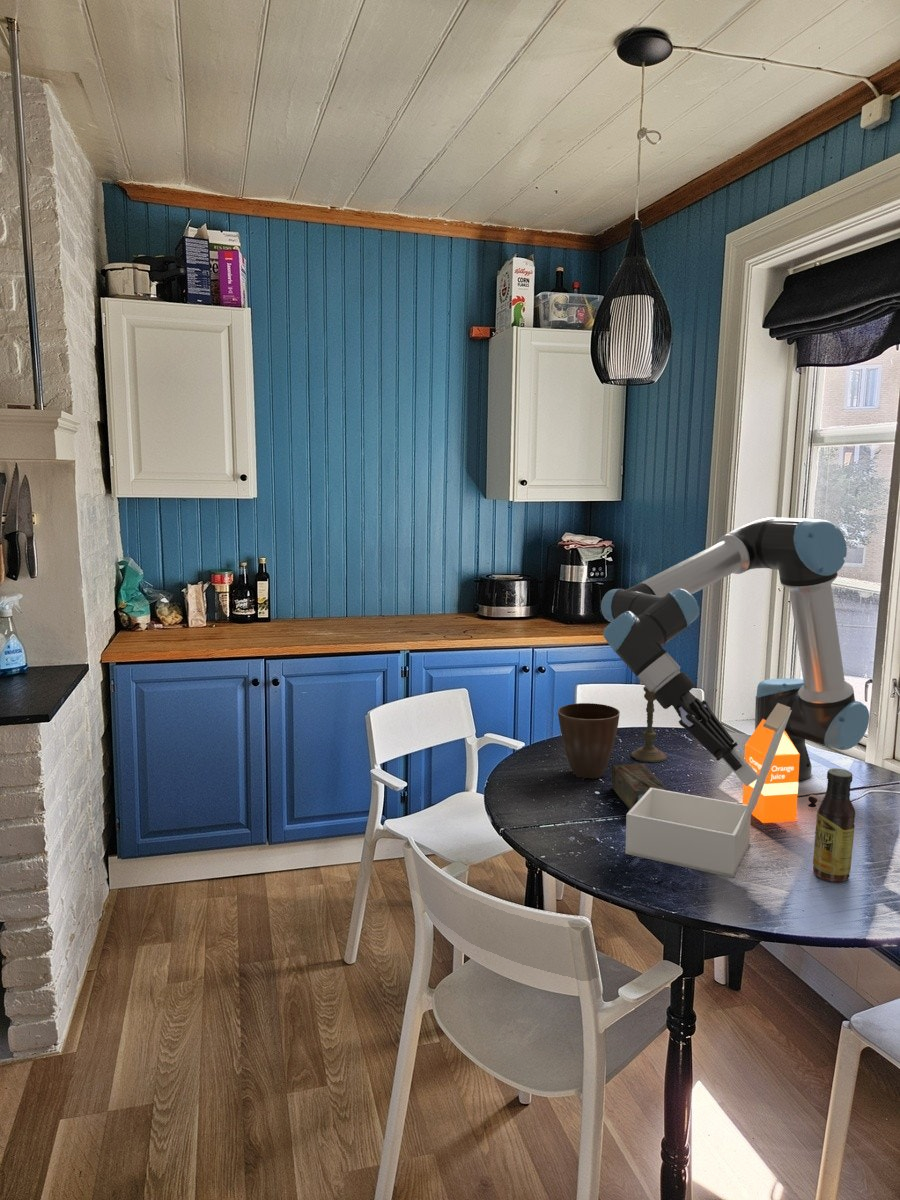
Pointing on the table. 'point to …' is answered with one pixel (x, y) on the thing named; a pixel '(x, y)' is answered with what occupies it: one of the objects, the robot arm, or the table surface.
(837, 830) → the sauce bottle
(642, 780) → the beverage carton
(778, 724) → the mailer lid
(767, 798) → the orange juice
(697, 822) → the box
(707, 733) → the robot arm
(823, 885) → the table surface
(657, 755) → the candlestick holder
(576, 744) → the plant pot
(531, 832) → the table surface
